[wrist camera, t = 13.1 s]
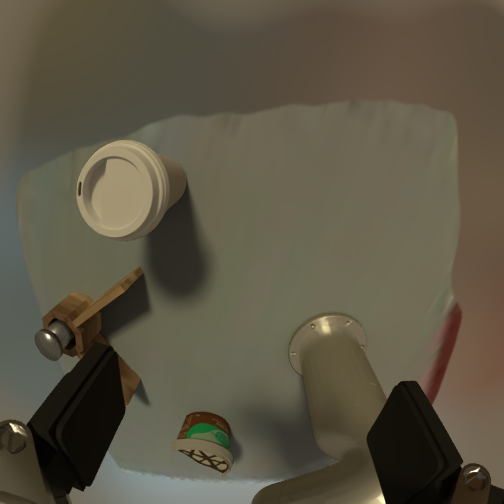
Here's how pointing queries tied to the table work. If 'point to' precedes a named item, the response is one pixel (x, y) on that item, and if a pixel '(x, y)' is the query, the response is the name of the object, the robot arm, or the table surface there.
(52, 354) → the pin
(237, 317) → the table surface
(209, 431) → the food container
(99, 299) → the hinge
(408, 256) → the table surface
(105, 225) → the coffee cup
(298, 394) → the table surface
